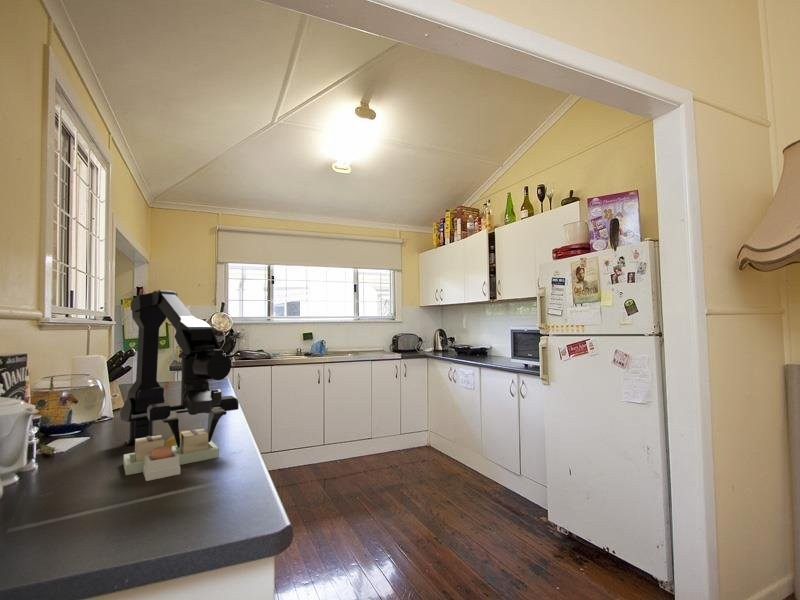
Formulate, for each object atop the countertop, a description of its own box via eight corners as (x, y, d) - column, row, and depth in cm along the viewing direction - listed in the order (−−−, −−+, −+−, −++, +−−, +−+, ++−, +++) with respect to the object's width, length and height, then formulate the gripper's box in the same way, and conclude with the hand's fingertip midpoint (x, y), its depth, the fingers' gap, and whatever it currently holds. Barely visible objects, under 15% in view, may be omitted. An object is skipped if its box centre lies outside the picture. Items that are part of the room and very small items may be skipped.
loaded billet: (134, 464, 90) (135, 438, 91) (160, 459, 93) (161, 434, 94) (136, 470, 86) (137, 442, 87) (163, 465, 89) (164, 438, 90)
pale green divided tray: (123, 466, 91) (123, 454, 91) (210, 450, 101) (210, 439, 102) (125, 477, 83) (126, 465, 84) (219, 459, 94) (219, 448, 94)
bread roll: (159, 454, 99) (160, 438, 99) (170, 444, 108) (170, 429, 108) (197, 451, 101) (197, 435, 102) (204, 441, 110) (204, 426, 110)
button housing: (143, 474, 85) (143, 455, 85) (175, 468, 88) (175, 449, 89) (146, 483, 80) (146, 462, 80) (180, 476, 84) (180, 456, 84)
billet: (180, 455, 96) (180, 431, 96) (203, 451, 99) (203, 427, 99) (183, 461, 92) (184, 435, 92) (207, 456, 95) (208, 431, 95)
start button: (150, 458, 85) (151, 448, 85) (170, 454, 87) (170, 445, 87) (152, 462, 82) (153, 452, 82) (173, 458, 84) (173, 448, 84)
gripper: (153, 385, 84) (151, 461, 83) (245, 377, 96) (244, 444, 95) (147, 379, 93) (146, 449, 92) (232, 373, 104) (231, 434, 103)
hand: (193, 444), depth 95 cm, fingers open, 6 cm apart
